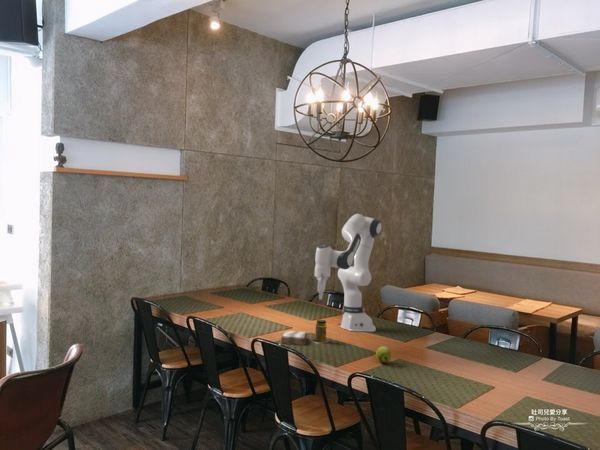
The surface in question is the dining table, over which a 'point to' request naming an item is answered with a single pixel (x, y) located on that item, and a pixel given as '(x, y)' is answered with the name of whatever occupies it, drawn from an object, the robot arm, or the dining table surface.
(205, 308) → the dining table surface
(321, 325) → the condiment
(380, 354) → the apple
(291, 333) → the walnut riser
